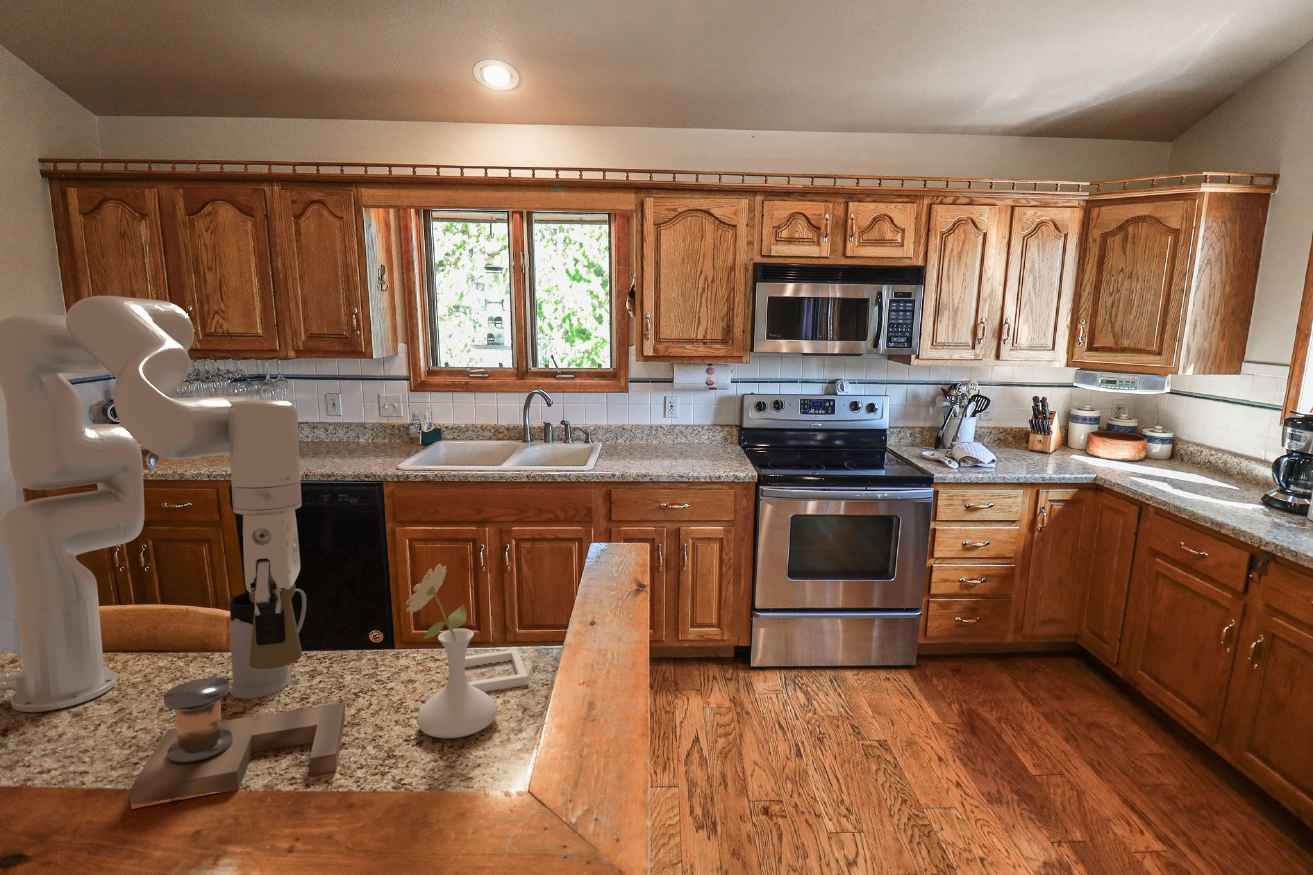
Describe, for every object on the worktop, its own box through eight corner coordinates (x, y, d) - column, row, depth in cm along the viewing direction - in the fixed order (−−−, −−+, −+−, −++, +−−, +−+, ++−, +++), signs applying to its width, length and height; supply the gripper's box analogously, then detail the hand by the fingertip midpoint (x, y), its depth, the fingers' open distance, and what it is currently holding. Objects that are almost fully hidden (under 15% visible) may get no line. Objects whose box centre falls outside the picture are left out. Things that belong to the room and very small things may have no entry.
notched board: (130, 809, 78) (129, 790, 78) (169, 746, 91) (168, 729, 91) (336, 771, 86) (335, 753, 86) (344, 718, 99) (344, 702, 99)
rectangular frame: (458, 695, 106) (457, 686, 106) (453, 666, 117) (452, 658, 117) (528, 684, 110) (528, 676, 110) (517, 656, 121) (517, 649, 121)
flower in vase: (464, 698, 106) (461, 545, 103) (513, 720, 99) (511, 557, 97) (390, 734, 95) (384, 564, 92) (440, 762, 89) (435, 580, 86)
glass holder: (216, 693, 106) (211, 603, 104) (287, 657, 120) (283, 576, 118) (260, 701, 104) (255, 609, 102) (328, 663, 117) (324, 581, 116)
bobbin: (159, 769, 82) (155, 707, 81) (177, 739, 89) (173, 682, 88) (225, 758, 85) (221, 698, 84) (238, 730, 91) (234, 674, 90)
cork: (278, 671, 83) (274, 586, 82) (237, 666, 84) (232, 582, 83) (312, 651, 89) (309, 571, 88) (273, 647, 90) (269, 568, 89)
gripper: (290, 508, 78) (297, 658, 80) (309, 484, 93) (314, 610, 95) (215, 513, 75) (225, 667, 77) (247, 487, 91) (254, 616, 93)
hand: (274, 634), depth 86 cm, fingers closed on cork, 4 cm apart
